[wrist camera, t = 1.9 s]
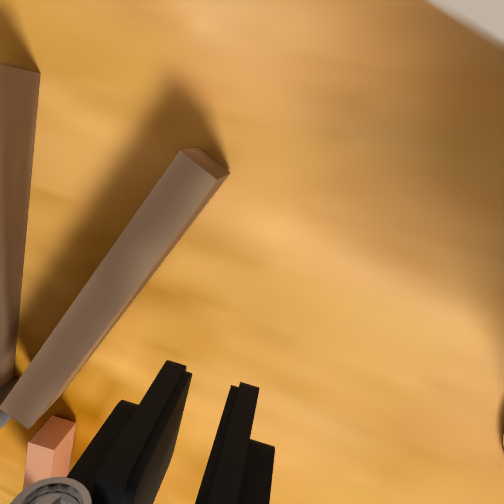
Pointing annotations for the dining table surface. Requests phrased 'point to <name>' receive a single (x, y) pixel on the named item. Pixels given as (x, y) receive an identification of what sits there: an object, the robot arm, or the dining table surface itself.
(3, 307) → the tongs fixed jaw
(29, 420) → the tongs jaw
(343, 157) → the dining table surface
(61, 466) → the tab
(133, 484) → the robot arm
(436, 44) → the dining table surface
